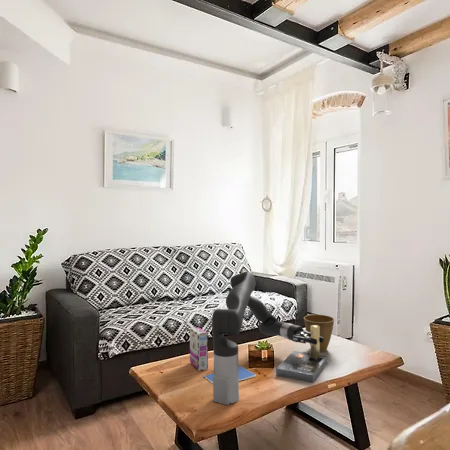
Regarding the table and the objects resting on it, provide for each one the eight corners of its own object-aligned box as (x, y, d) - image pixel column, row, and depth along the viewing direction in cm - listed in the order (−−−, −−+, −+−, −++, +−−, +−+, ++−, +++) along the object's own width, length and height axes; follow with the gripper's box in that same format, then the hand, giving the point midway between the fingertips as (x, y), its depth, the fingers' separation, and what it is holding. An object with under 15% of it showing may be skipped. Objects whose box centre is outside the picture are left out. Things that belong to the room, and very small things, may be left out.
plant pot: (298, 346, 198) (298, 316, 198) (322, 343, 204) (322, 313, 203) (315, 356, 184) (314, 323, 184) (340, 352, 190) (340, 320, 189)
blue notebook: (218, 389, 151) (218, 386, 151) (202, 378, 162) (202, 375, 162) (257, 377, 162) (257, 374, 162) (240, 368, 172) (240, 365, 172)
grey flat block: (313, 382, 155) (313, 374, 155) (276, 375, 163) (276, 367, 162) (327, 362, 176) (327, 355, 176) (293, 357, 184) (293, 350, 184)
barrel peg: (318, 359, 170) (318, 328, 170) (309, 357, 172) (309, 327, 172) (320, 356, 173) (320, 325, 173) (312, 355, 175) (311, 324, 175)
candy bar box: (208, 369, 170) (208, 332, 170) (198, 371, 168) (197, 334, 167) (199, 361, 180) (199, 326, 180) (189, 362, 178) (189, 327, 178)
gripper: (281, 327, 180) (309, 335, 166) (301, 321, 188) (330, 329, 174) (281, 342, 180) (309, 353, 166) (301, 337, 188) (330, 346, 174)
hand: (319, 341), depth 170 cm, fingers closed on barrel peg, 4 cm apart
